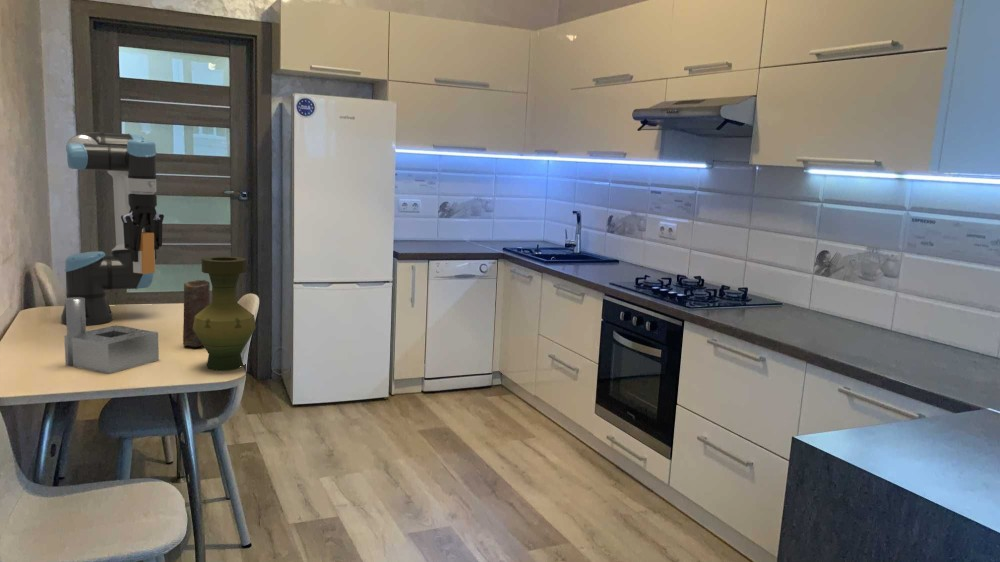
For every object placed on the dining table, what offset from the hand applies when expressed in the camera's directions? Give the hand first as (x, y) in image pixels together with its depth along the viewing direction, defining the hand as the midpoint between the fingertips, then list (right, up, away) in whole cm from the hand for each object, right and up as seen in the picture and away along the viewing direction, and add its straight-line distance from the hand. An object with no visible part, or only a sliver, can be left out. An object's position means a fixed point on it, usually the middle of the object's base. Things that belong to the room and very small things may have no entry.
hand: (144, 271), depth 214 cm
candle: (+14, -23, +4) cm, 27 cm away
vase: (+30, -27, -15) cm, 43 cm away
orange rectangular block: (0, 0, 0) cm, 0 cm away
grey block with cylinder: (0, -25, -18) cm, 31 cm away
